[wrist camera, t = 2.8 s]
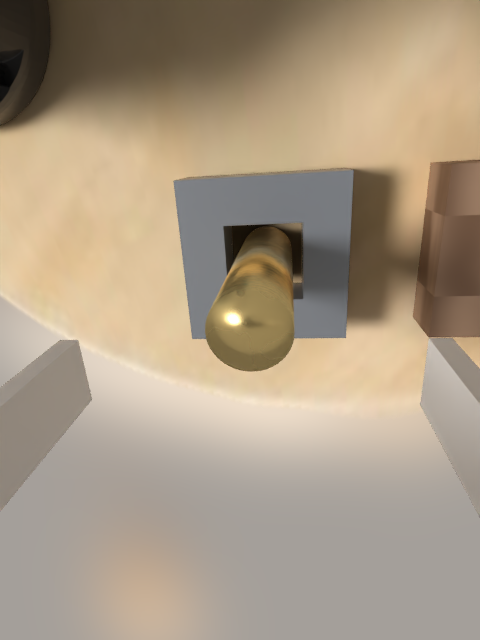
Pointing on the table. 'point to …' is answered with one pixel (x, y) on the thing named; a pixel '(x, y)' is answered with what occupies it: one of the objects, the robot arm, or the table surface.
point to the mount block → (270, 208)
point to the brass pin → (255, 304)
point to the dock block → (450, 252)
